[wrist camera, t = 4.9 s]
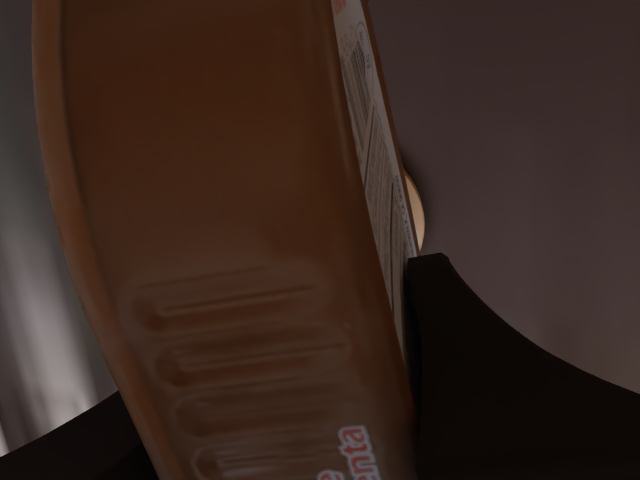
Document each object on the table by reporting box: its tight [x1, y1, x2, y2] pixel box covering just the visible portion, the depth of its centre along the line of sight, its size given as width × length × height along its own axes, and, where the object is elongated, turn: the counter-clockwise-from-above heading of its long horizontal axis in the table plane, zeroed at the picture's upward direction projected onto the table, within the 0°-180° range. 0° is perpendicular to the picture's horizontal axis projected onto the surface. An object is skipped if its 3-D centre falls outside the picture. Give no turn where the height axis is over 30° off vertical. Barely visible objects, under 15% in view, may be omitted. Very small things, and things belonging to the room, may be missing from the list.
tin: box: [31, 0, 422, 480], centre depth 10 cm, size 15×3×8 cm, turn 13°
